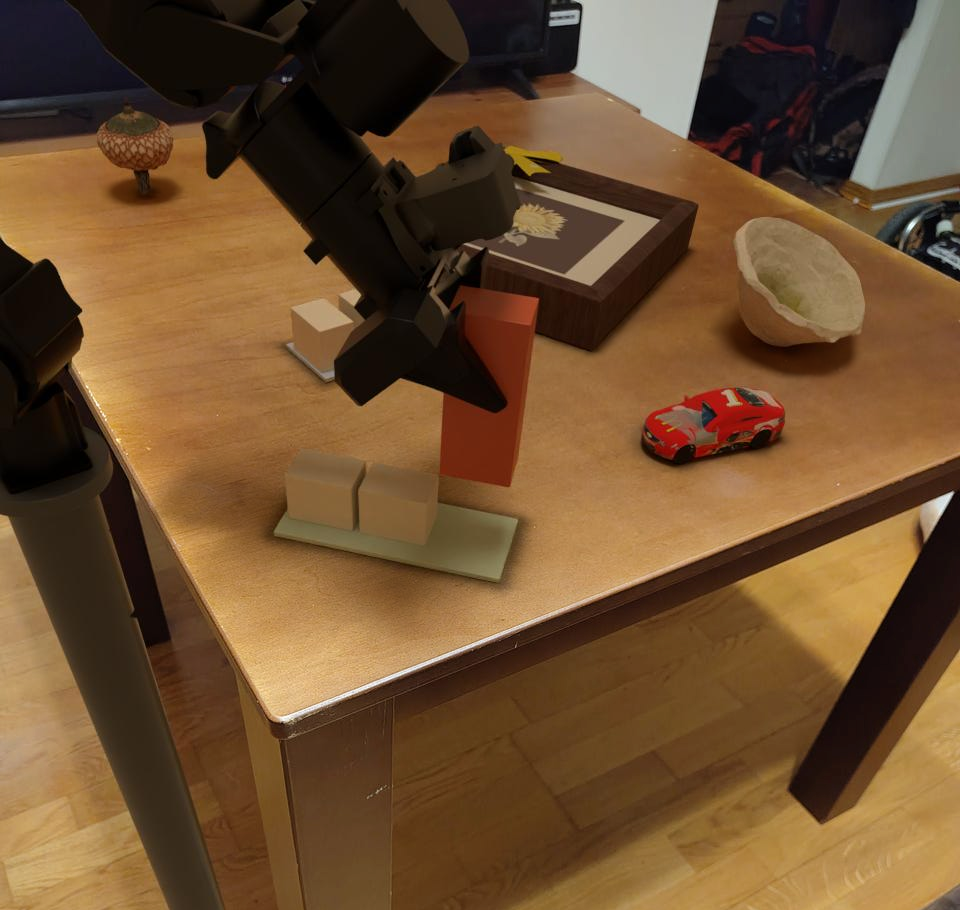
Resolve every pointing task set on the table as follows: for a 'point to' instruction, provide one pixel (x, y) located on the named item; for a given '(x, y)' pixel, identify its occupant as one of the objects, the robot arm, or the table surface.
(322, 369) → the blocks on base plate
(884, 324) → the table surface
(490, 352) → the orange upright bar
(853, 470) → the table surface
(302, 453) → the pale green base plate
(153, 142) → the acorn
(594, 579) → the table surface
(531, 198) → the picture frame
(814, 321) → the bowl
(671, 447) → the race car
